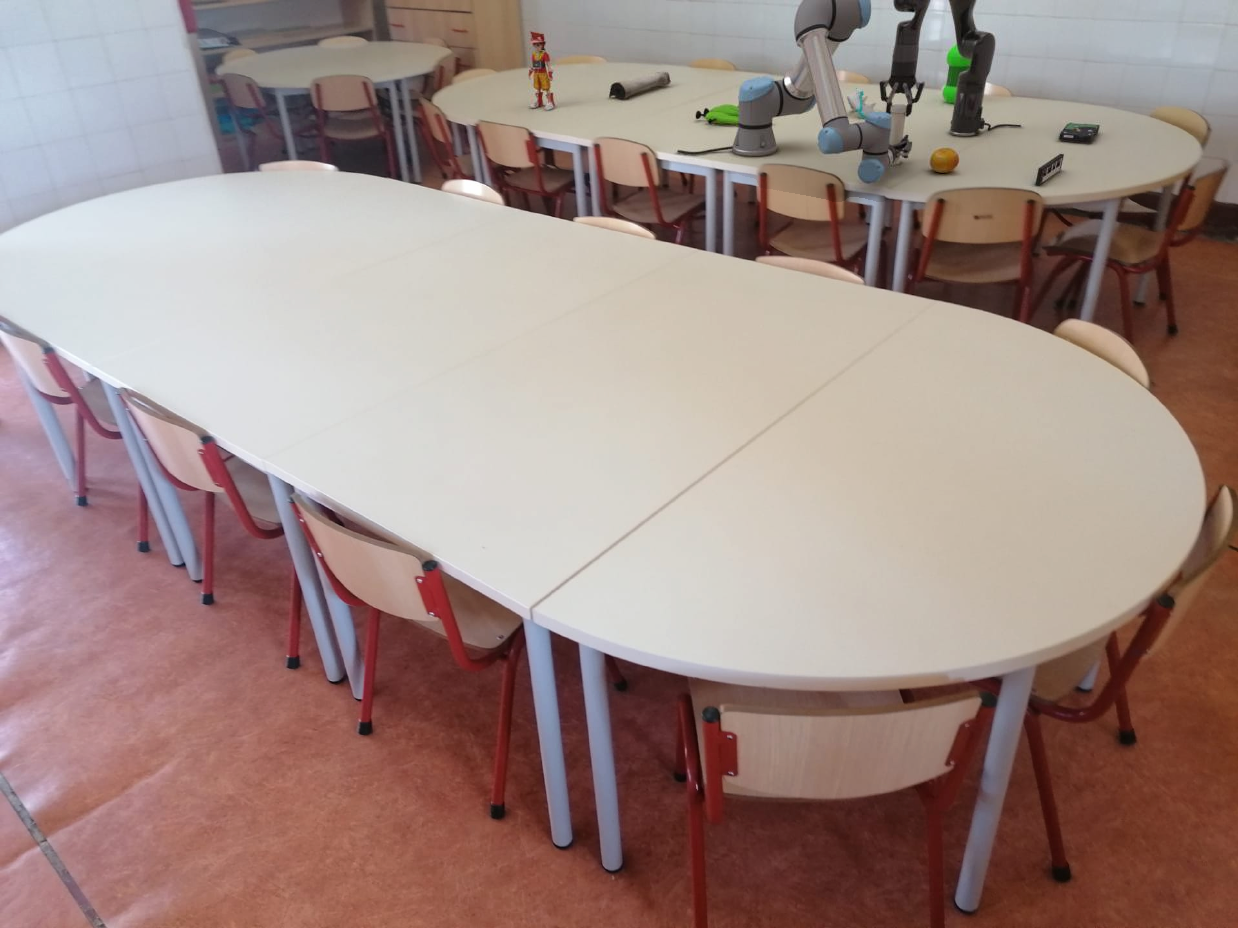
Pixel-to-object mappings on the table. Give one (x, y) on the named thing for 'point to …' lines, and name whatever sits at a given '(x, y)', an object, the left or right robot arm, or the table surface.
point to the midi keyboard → (1049, 169)
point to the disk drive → (1079, 132)
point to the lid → (898, 108)
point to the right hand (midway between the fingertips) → (898, 115)
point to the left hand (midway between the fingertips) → (898, 138)
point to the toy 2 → (721, 114)
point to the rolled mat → (638, 84)
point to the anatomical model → (860, 103)
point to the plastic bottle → (954, 73)
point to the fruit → (944, 160)
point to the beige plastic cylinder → (897, 131)
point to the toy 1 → (541, 71)
